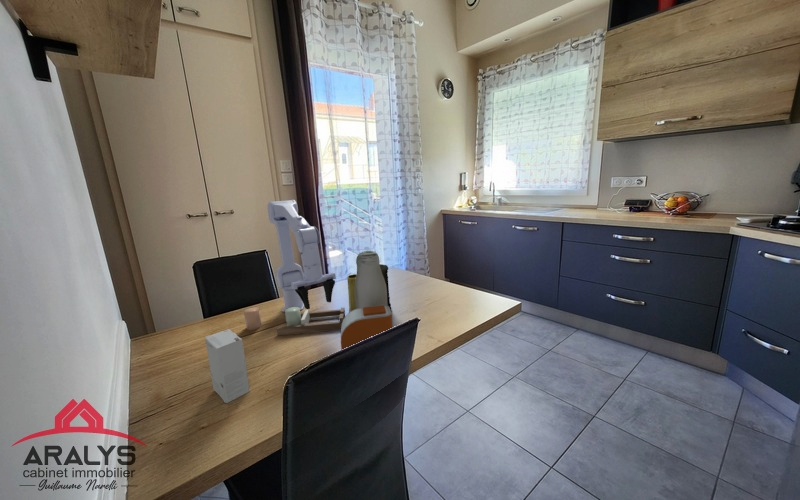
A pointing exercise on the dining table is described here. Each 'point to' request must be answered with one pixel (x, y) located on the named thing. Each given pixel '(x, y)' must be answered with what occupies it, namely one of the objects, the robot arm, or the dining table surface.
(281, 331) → the lane
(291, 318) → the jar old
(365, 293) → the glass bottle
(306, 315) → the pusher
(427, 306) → the dining table surface
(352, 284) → the vase
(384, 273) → the container
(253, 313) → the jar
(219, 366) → the skincare box
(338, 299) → the dining table surface
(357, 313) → the alarm clock
